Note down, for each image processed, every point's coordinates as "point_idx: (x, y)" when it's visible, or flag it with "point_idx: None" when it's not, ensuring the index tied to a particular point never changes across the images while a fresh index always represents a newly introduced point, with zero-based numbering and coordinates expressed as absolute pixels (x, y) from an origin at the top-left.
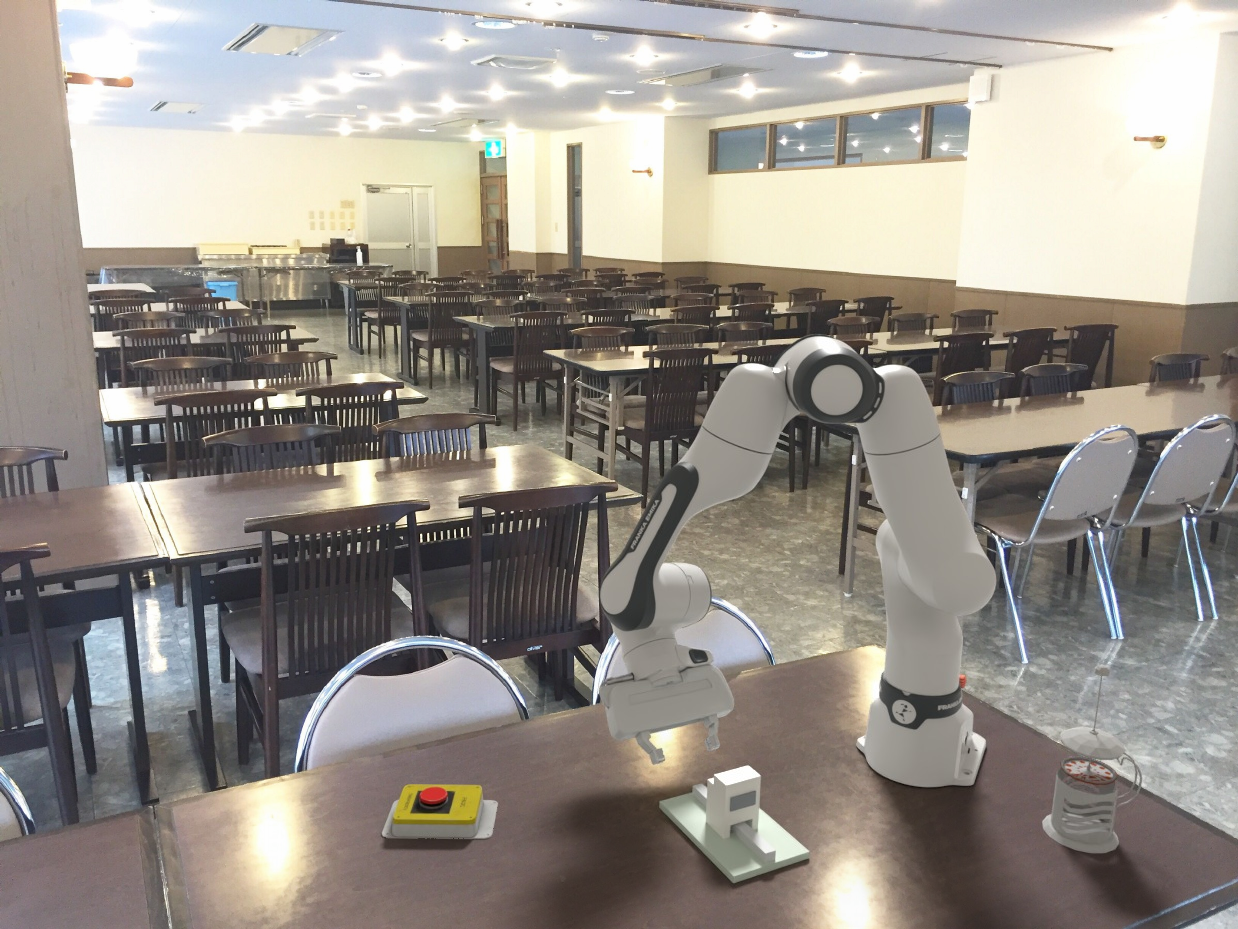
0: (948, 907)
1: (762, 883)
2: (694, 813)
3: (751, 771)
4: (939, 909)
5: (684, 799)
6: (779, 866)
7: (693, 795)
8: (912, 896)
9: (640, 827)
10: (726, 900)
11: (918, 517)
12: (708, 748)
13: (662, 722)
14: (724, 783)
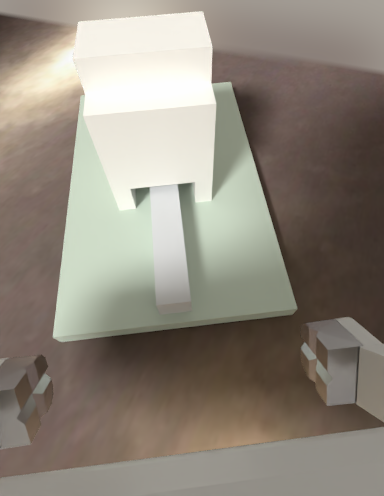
0: (6, 24)
1: None
2: (223, 232)
3: (88, 37)
4: (18, 24)
5: (223, 295)
6: None
7: (191, 304)
8: (24, 39)
9: (357, 254)
10: (253, 75)
11: None
12: (48, 388)
13: (378, 441)
14: (202, 16)
